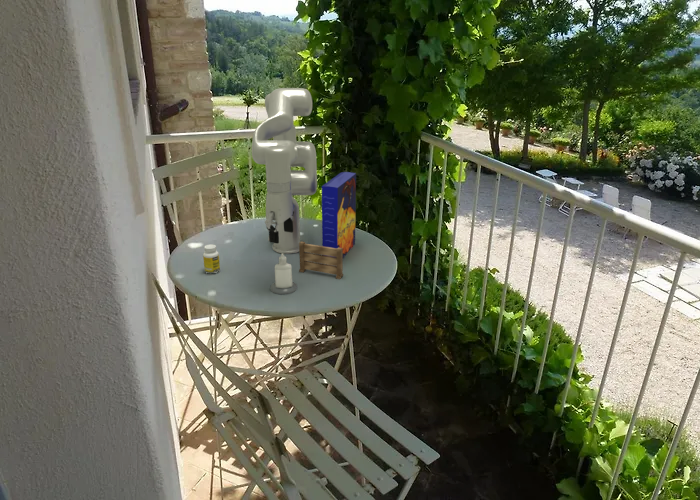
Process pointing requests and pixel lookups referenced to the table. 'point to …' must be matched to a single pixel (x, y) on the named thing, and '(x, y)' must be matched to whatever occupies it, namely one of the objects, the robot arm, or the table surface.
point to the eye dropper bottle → (283, 273)
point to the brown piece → (321, 259)
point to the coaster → (283, 289)
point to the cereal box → (339, 212)
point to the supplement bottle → (211, 259)
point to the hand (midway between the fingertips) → (281, 237)
